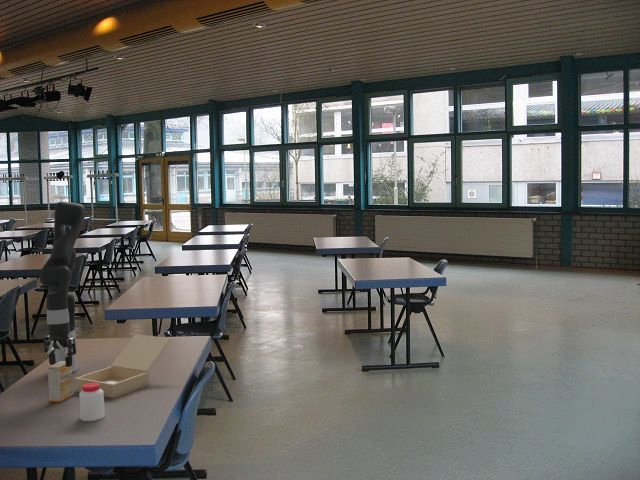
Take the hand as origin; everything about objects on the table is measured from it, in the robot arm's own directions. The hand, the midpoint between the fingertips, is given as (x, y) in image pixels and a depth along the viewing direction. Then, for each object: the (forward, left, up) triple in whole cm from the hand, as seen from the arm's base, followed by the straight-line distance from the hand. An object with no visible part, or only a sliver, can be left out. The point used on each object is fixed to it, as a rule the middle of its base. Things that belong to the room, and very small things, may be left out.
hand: (60, 365), depth 244 cm
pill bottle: (+26, -9, -13) cm, 30 cm away
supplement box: (0, 0, -13) cm, 13 cm away
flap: (+7, +34, -2) cm, 34 cm away
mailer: (+7, +18, -12) cm, 23 cm away
